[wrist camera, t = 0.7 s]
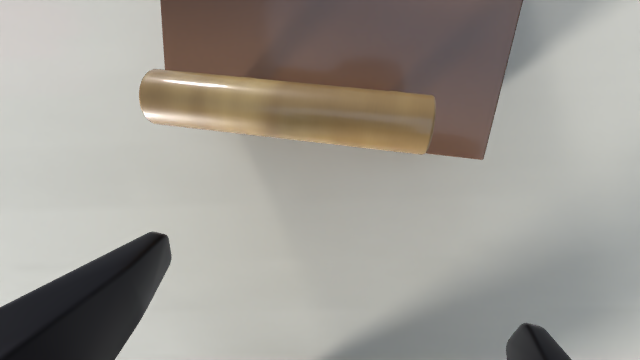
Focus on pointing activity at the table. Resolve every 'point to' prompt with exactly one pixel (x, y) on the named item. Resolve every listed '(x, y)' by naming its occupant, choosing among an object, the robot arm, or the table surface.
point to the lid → (336, 71)
